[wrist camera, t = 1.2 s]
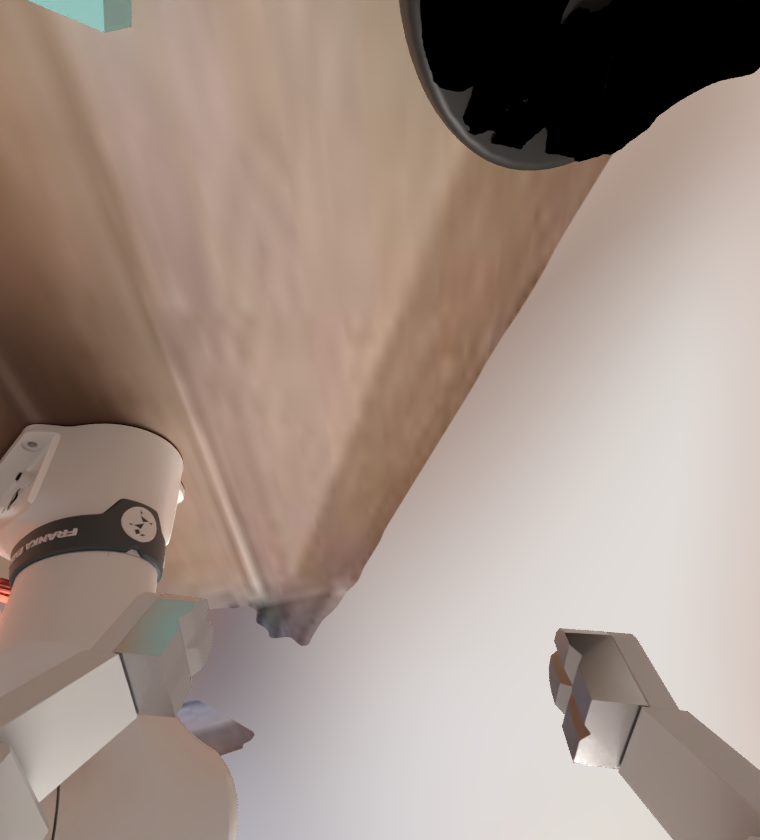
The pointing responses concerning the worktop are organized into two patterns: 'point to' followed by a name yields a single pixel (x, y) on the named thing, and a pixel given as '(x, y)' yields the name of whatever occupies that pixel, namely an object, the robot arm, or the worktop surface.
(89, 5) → the teal block
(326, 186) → the worktop surface
